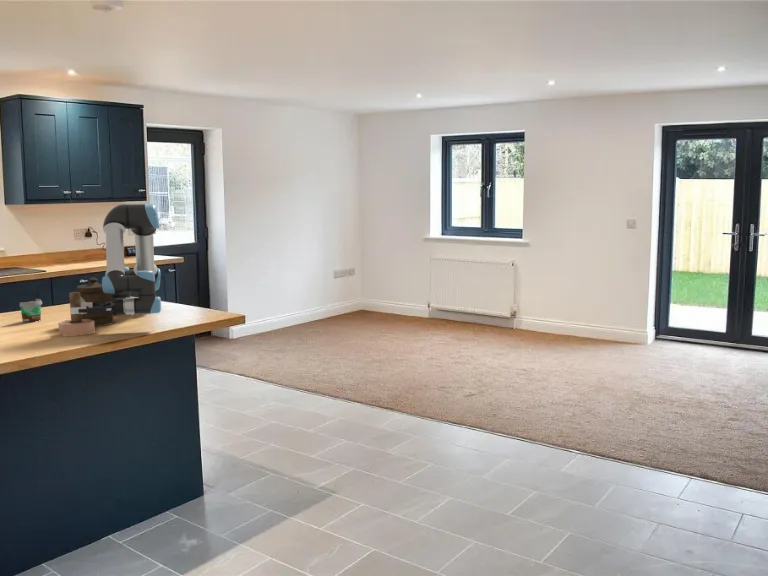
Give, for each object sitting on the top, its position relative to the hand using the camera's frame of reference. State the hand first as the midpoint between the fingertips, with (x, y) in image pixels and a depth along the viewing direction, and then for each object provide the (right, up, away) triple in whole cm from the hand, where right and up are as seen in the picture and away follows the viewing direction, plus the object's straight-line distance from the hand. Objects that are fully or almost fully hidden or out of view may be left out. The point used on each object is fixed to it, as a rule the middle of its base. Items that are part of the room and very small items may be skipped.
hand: (73, 308), depth 313 cm
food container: (-32, -7, +31) cm, 45 cm away
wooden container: (0, -8, +24) cm, 26 cm away
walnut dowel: (+1, -11, +2) cm, 11 cm away
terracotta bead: (+1, -11, +2) cm, 11 cm away
